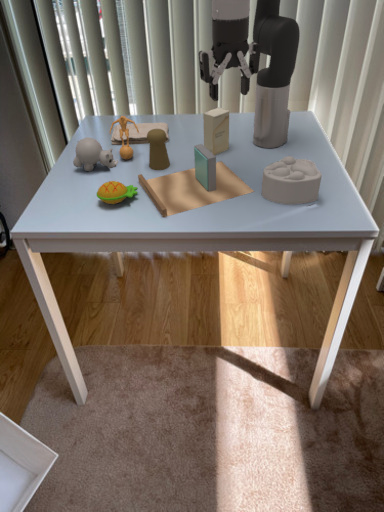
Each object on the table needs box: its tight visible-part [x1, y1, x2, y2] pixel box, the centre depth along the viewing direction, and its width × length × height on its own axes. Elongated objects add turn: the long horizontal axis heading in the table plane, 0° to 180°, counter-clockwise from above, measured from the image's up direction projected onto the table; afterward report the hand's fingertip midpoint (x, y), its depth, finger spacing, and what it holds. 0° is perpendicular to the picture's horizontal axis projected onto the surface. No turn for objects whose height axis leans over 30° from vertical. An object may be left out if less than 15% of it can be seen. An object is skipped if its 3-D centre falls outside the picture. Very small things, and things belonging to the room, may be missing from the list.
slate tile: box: [193, 143, 217, 192], centre depth 102 cm, size 2×8×9 cm, turn 24°
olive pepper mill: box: [147, 129, 171, 171], centre depth 111 cm, size 6×6×11 cm
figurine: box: [109, 115, 139, 160], centre depth 117 cm, size 8×6×12 cm
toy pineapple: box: [96, 180, 139, 205], centre depth 101 cm, size 7×10×5 cm
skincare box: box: [202, 107, 230, 156], centre depth 116 cm, size 6×4×12 cm
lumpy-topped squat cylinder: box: [261, 155, 323, 207], centre depth 98 cm, size 10×13×9 cm
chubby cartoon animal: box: [72, 137, 119, 172], centre depth 114 cm, size 7×12×8 cm, turn 79°
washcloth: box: [110, 122, 170, 146], centre depth 131 cm, size 12×18×3 cm, turn 94°
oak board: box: [137, 160, 255, 218], centre depth 104 cm, size 24×18×3 cm
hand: (229, 96), depth 94 cm, fingers open, 7 cm apart
